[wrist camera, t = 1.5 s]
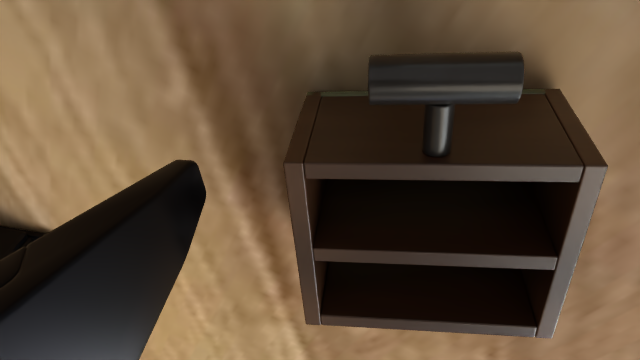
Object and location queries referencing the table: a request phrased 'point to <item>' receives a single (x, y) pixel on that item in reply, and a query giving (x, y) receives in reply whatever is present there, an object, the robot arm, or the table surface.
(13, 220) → the table surface
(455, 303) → the shelf
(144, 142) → the table surface
